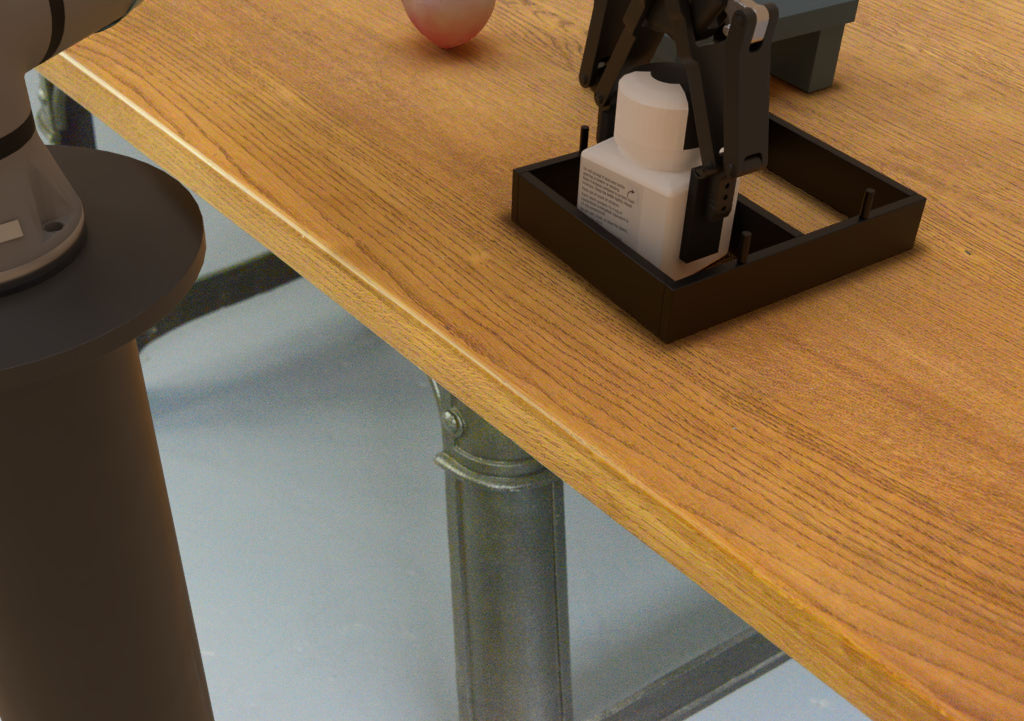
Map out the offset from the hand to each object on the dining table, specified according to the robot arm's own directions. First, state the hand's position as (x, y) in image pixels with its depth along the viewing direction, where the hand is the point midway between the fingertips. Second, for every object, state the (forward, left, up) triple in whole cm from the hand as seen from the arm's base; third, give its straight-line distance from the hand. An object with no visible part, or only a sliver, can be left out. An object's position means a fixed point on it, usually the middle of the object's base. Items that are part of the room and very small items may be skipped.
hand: (654, 223), depth 78 cm
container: (0, 0, -3) cm, 3 cm away
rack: (0, +5, -2) cm, 6 cm away
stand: (-19, +22, -2) cm, 29 cm away
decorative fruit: (-38, +6, -3) cm, 39 cm away
